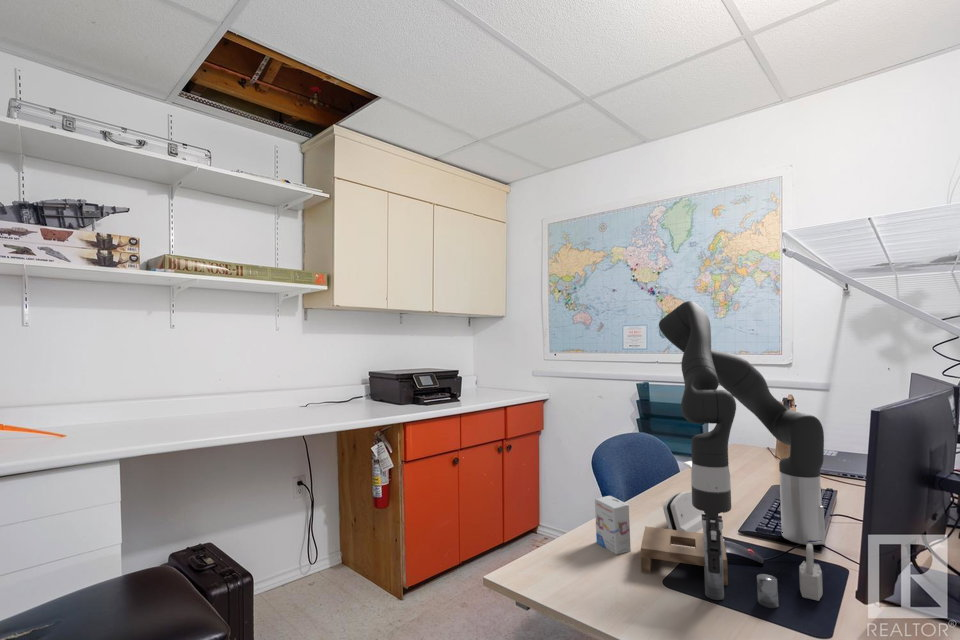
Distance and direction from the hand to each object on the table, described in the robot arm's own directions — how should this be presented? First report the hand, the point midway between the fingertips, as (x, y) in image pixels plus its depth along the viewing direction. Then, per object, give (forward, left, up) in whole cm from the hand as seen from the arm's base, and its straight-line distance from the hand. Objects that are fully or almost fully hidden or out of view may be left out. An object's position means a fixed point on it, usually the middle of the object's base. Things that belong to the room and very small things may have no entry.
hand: (713, 567), depth 105 cm
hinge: (+5, -40, -6) cm, 41 cm away
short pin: (-10, -1, -6) cm, 12 cm away
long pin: (0, 0, -6) cm, 6 cm away
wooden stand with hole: (+6, -13, -6) cm, 16 cm away
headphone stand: (+2, -64, -6) cm, 64 cm away
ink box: (+23, -18, -6) cm, 30 cm away
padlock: (-19, -9, -6) cm, 22 cm away
